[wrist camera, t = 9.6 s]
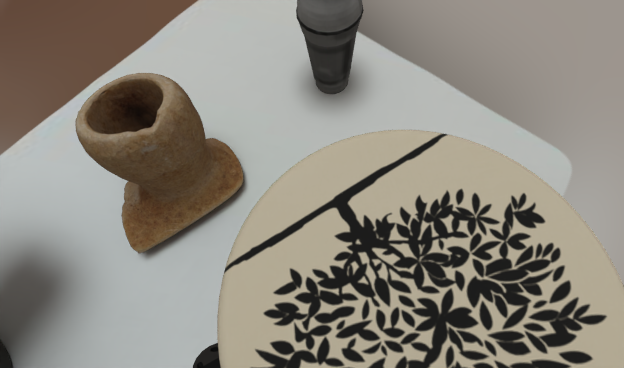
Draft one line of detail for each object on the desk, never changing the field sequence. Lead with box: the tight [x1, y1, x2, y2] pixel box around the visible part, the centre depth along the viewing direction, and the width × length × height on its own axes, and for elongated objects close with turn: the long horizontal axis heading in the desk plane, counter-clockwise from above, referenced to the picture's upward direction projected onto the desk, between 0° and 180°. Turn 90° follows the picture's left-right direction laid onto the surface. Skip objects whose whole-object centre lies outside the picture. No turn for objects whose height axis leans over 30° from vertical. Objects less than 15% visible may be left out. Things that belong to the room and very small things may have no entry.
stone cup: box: [76, 73, 243, 253], centre depth 35 cm, size 15×12×15 cm
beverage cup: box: [296, 0, 363, 94], centre depth 37 cm, size 7×7×20 cm
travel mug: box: [218, 130, 624, 368], centre depth 14 cm, size 8×8×18 cm
